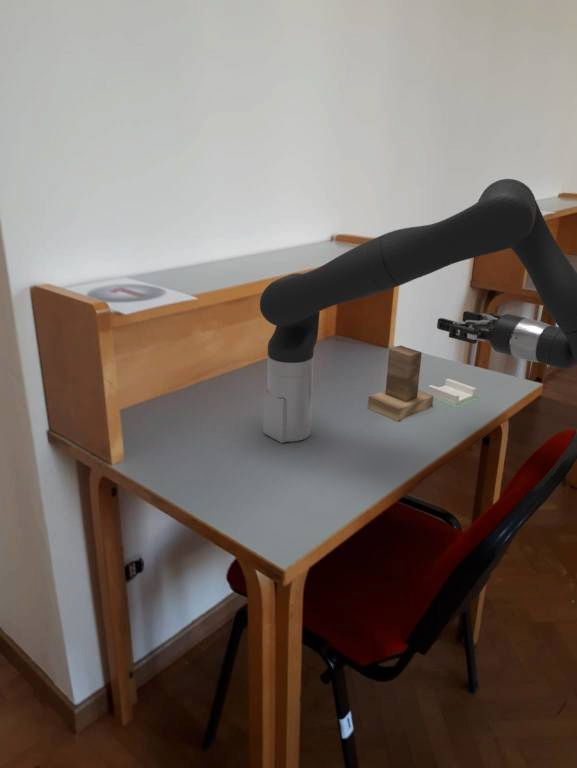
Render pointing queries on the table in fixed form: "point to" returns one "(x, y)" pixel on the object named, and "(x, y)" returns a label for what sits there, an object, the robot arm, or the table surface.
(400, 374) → the tall wooden pillar
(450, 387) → the rack
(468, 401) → the mat
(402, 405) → the flat wooden block
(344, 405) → the table surface
